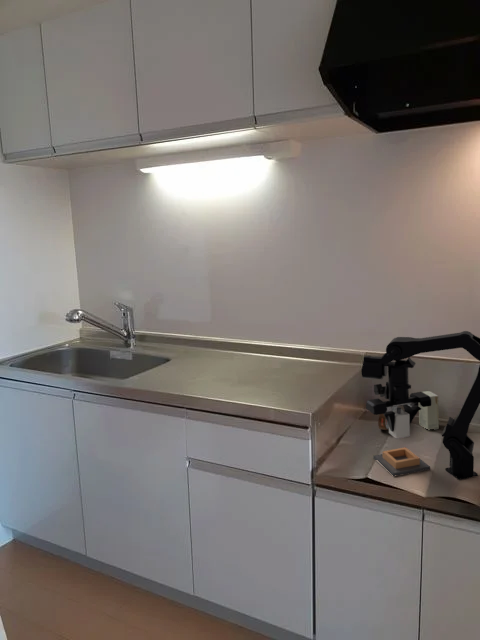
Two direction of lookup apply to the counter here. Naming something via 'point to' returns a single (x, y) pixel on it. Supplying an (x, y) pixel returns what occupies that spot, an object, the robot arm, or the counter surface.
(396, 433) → the light gray block
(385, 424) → the tin
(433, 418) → the skincare box
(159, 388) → the counter surface
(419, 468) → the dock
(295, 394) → the counter surface
